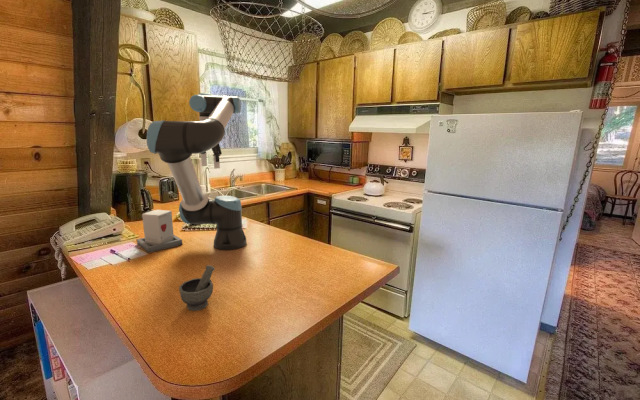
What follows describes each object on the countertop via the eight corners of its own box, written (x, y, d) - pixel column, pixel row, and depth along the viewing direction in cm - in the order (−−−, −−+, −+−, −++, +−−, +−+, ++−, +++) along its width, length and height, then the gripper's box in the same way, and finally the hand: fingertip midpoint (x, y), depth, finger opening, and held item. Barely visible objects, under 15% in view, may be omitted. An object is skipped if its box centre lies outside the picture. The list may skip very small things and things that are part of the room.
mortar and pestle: (189, 318, 88) (185, 281, 85) (175, 305, 94) (171, 270, 91) (223, 302, 96) (221, 268, 93) (208, 292, 102) (206, 259, 99)
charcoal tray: (182, 244, 144) (182, 239, 143) (148, 253, 133) (147, 247, 132) (170, 236, 154) (169, 232, 153) (137, 244, 143) (136, 239, 142)
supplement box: (161, 246, 138) (157, 215, 134) (144, 244, 140) (141, 213, 136) (174, 240, 146) (172, 210, 143) (159, 238, 148) (156, 209, 145)
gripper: (227, 125, 147) (229, 168, 152) (203, 125, 164) (206, 164, 168) (213, 125, 142) (215, 170, 147) (189, 125, 158) (192, 165, 163)
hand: (210, 167), depth 157 cm, fingers open, 13 cm apart
